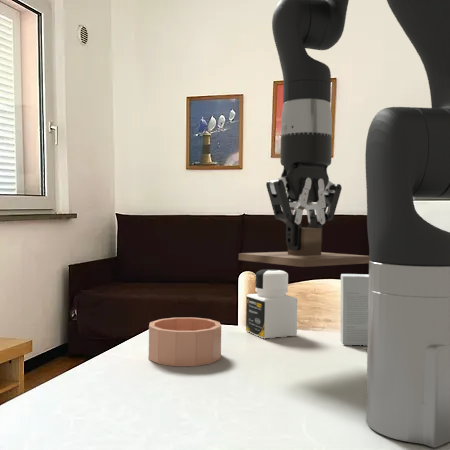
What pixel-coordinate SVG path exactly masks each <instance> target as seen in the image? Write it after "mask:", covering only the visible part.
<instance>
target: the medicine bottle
mask: <svg viewBox="0 0 450 450" xmlns="http://www.w3.org/2000/svg"><path fill="white" fill-rule="evenodd" d="M254 291H255V292H256V293H248V294H247V295H245V296H246V301H245V302H246V303H245V304H246V307H245V308H246V309H245V331H246V332H247V331H248V332H247V333H249V332H250V333H249V334H251V333H252V334H251V335H253V334H254V336H256V337H258V336H259V337H258V338H260V337H261V339H263V338H264V339H263V340H266V339H265V338H270V339H276V338H275V337H281V338H288V337H287V336H292V337H296V336H297V335H298V298H297V297H295V296H291V295H288V294H287V293H288V292H289V273H288V272H286V271H285V270H282V269H270V268H269V269H260V270H258V271H257V272H256V273H255V290H254Z"/></svg>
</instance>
